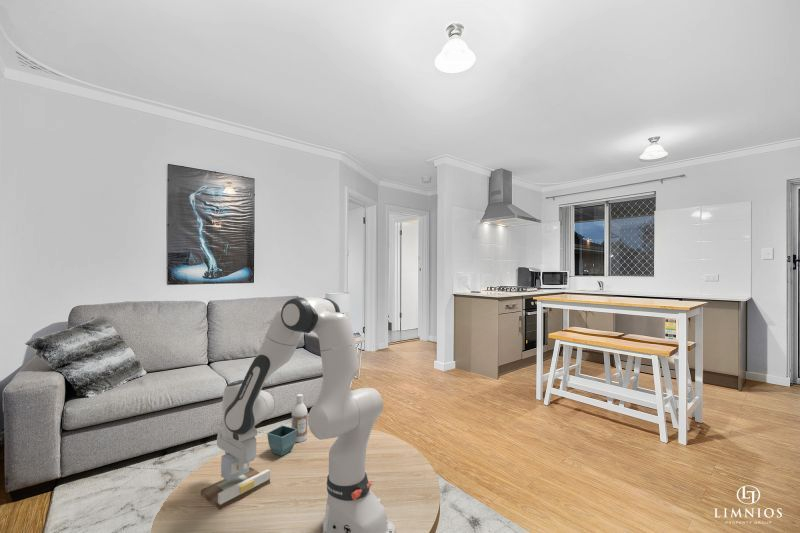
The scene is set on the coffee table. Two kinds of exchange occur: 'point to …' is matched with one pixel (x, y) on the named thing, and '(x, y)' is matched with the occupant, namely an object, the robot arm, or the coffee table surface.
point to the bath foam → (300, 419)
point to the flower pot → (282, 439)
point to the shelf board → (222, 485)
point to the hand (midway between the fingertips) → (235, 466)
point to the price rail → (243, 486)
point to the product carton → (231, 467)
